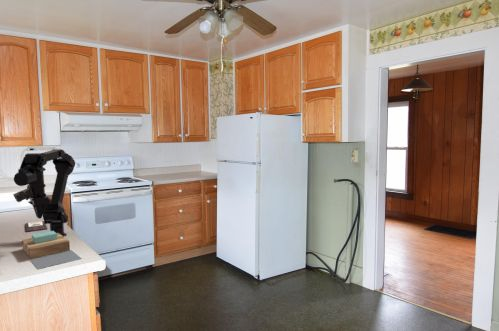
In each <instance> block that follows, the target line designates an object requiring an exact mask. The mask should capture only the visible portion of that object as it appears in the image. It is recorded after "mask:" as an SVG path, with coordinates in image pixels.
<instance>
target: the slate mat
mask: <svg viewBox="0 0 499 331" xmlns="http://www.w3.org/2000/svg"><path fill="white" fill-rule="evenodd" d="M29 260H30V262H31V263H32V264H33V266H34V267H35V269H37V270H40V269H45V268H48V267H53V266H58V265H62V264H66V263H69V262H73V261H78V260H82V257H80V256H79V254H77V253H75V251H73V250H71V249H70V251H65V252H61V253H56V254H52V255H47V256H43V257H38V258H33V259H31V258H29Z"/></svg>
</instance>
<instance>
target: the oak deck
mask: <svg viewBox="0 0 499 331" xmlns="http://www.w3.org/2000/svg"><path fill="white" fill-rule="evenodd" d="M21 241H22V244H21V245H22V250H23V251H24V253H26V254H27V256H28V257H29V259H34V258H39V257H43V256H48V255H52V254H57V253H61V252H66V251H70V250H71V246H70V240H69V239H67V238H66V237H65V236H62V235H61V234H59V233H57V240H52V241H47V242H42V243H37V244H35V243H34V242H33V241H32V237H29V238H25V239H22V240H21Z"/></svg>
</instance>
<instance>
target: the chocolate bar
mask: <svg viewBox="0 0 499 331" xmlns="http://www.w3.org/2000/svg"><path fill="white" fill-rule="evenodd" d="M24 224H25V233H31V232H32V233H33V232H38V231H44V230H46V231H47V230H48V226H47V224H45V222H44V220H42V221H33V222H26V223H24Z"/></svg>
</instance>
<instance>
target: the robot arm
mask: <svg viewBox="0 0 499 331" xmlns="http://www.w3.org/2000/svg"><path fill="white" fill-rule="evenodd" d="M51 161H52V164H53V165H54V169H55V171H56V176H55V182H54V187H53V190H52V195H51V198H50V197H49V196H47V193H46V191H45V188H46V183H45V179H44V178H45V176H44V172H45V171H46V170H47V169H46V168H45V167H44V166H45V165H47V163H48V162H51ZM75 166H76V160H75V159H74V158H73V156H72V155H70V154H68V153H66V151H65V150H64V149H61V148H60V149H57V148H56V149H54V148H53V149H51V150H48V151H44V152H41V153H40V152H38V153H37V152H36V153H35V152H34V153H33V152H32V153H31V152H29V153H28V152H27V153H25V155H24V157H23V159H22V161H21V164H20V166H19V168H18V169H17V172H16V173H15V174H14V175H13V176H14V177H13V181H14V183H15V184H16V185H17V186H18V187H23V186H26V188H25V189H23V190H20V191H17V192H15V193H13V197H14V199H15V201H16V202H17V203H20V202H22V201H23V200H26V201H27V203H29V204H30V205H31V206H32V208H33V211H34V214H35V216H36V218H37V219H40V220H41V219H43V221H44V222H45V224H46V225H49V231H54V232H55V233H59V234H61V235H62V236H63V237H65V236H67V233H66V232H65V225H64V224H67V223H68V221H69V216H68V215H67V214H66V211H65V207H64V205H63V203H64V202H63V201H64V198H65V192H66V187H67V183H68V179H69V176H70V174H72V172H74V169H75ZM28 200H29V201H28Z"/></svg>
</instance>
